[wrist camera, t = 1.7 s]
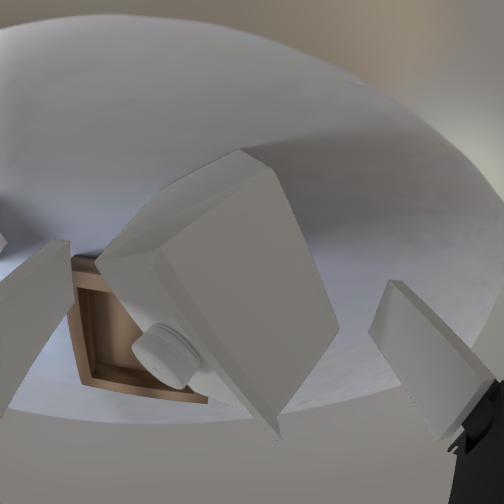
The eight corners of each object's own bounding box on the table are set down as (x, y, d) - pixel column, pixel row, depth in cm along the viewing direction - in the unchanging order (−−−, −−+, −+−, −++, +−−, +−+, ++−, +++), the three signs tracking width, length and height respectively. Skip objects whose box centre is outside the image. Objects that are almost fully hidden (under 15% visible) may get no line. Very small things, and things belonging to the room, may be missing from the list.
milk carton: (240, 148, 23) (310, 188, 6) (276, 224, 26) (380, 397, 8) (161, 188, 24) (40, 326, 6) (202, 260, 26) (188, 465, 9)
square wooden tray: (89, 366, 30) (81, 384, 27) (74, 254, 25) (60, 268, 22) (207, 383, 32) (207, 403, 29) (221, 273, 27) (222, 290, 24)
